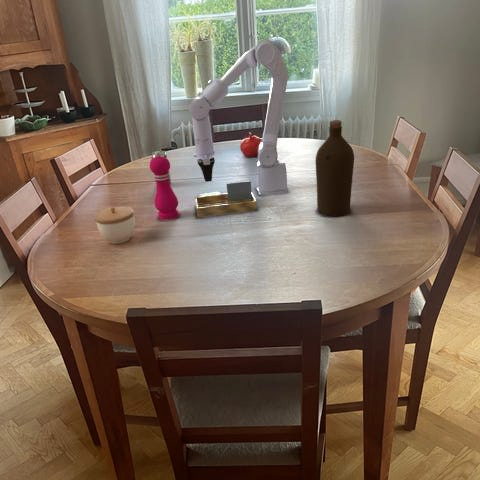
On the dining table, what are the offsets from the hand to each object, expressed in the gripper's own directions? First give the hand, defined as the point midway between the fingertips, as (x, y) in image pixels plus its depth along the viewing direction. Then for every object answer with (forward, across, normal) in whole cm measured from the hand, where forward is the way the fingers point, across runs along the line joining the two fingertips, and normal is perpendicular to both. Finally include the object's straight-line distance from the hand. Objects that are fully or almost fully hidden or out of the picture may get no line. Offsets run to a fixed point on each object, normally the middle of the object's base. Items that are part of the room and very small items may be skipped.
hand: (208, 181), depth 161 cm
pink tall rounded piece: (+5, -17, -16) cm, 24 cm away
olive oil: (+5, +28, +35) cm, 45 cm away
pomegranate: (+5, -45, +21) cm, 50 cm away
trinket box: (+5, +29, -28) cm, 41 cm away
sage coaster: (+4, 0, 0) cm, 5 cm away
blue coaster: (+4, +15, +9) cm, 18 cm away
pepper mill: (+5, +16, -14) cm, 22 cm away
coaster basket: (+5, +15, +4) cm, 16 cm away
